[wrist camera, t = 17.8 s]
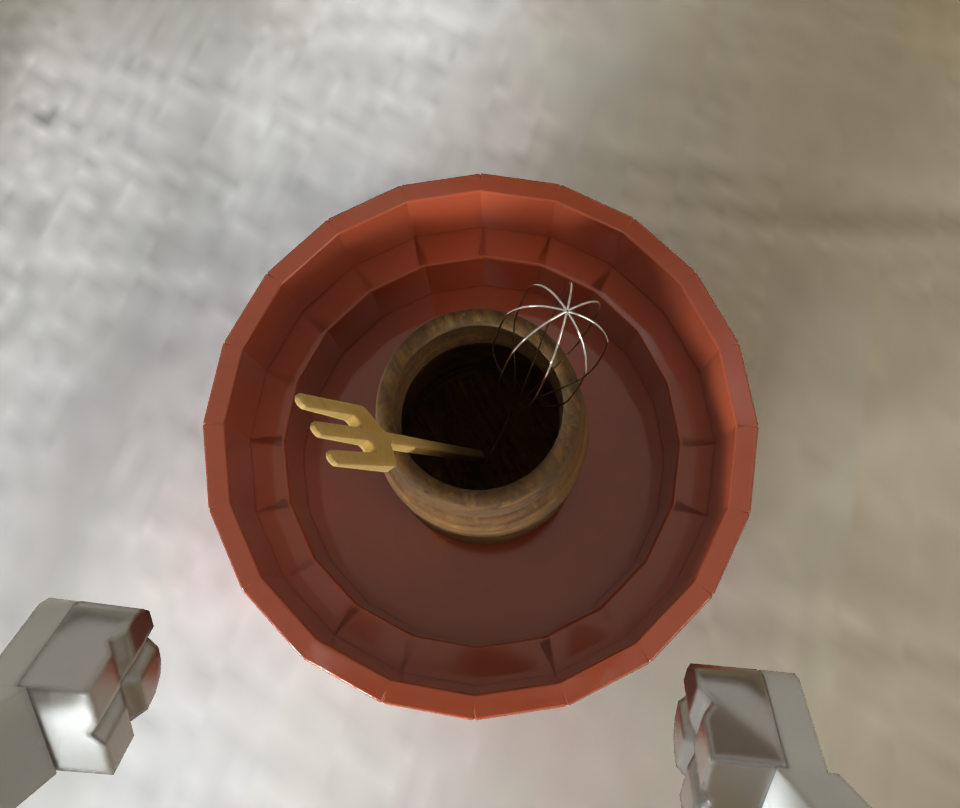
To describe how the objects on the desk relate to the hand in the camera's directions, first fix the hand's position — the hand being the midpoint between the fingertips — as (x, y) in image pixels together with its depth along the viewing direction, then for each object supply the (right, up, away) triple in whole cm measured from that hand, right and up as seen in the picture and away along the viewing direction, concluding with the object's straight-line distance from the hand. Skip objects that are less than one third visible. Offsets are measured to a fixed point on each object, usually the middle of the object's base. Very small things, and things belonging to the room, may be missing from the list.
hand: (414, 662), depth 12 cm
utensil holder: (+1, +2, +14) cm, 15 cm away
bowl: (+1, +2, +15) cm, 15 cm away
